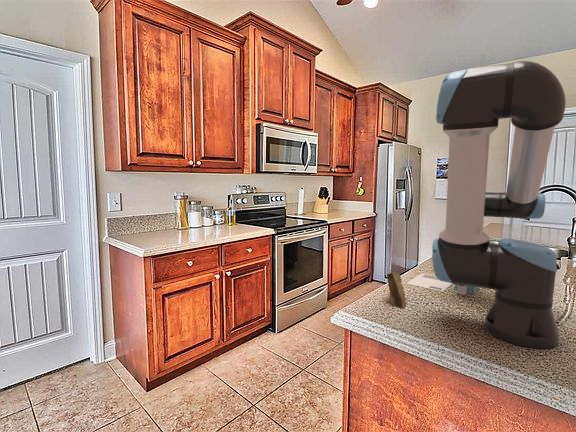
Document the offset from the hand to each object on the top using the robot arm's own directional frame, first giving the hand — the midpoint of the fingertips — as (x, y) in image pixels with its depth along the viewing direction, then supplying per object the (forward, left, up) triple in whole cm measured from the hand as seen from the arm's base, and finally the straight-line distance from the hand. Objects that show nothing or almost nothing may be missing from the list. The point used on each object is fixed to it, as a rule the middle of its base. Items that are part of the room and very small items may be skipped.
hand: (466, 289), depth 115 cm
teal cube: (0, 0, 0) cm, 0 cm away
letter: (-2, +12, 0) cm, 12 cm away
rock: (-29, +6, 0) cm, 30 cm away
